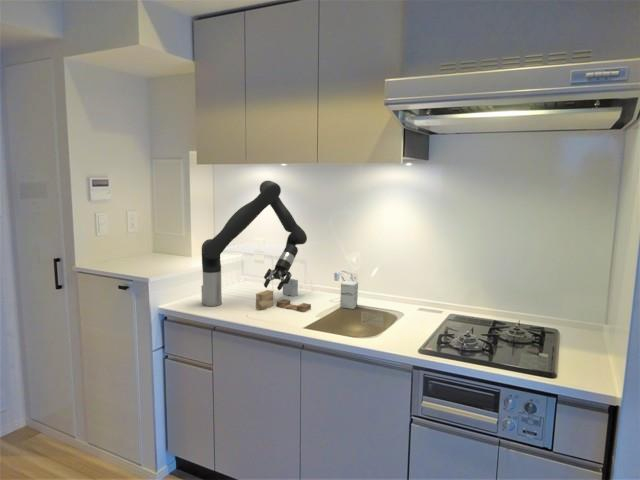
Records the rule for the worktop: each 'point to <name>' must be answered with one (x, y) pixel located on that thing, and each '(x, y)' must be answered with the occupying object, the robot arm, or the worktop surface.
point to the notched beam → (287, 305)
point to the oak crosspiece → (264, 300)
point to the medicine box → (291, 287)
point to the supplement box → (349, 294)
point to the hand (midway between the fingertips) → (271, 288)
